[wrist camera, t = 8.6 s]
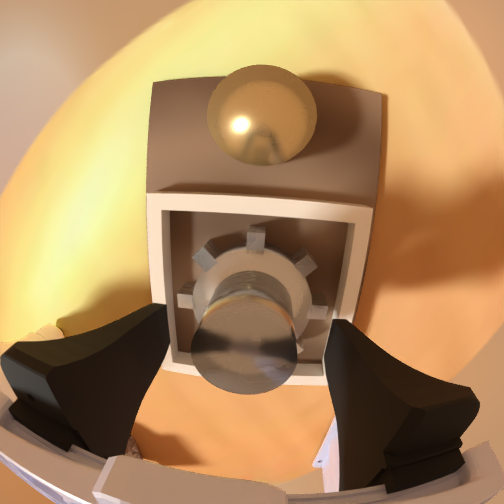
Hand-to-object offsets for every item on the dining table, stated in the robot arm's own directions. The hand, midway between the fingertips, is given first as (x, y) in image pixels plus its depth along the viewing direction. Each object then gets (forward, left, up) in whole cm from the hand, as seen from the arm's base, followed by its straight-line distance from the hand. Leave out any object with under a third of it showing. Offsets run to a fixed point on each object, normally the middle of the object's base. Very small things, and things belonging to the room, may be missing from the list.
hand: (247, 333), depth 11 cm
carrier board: (+3, 0, -4) cm, 5 cm away
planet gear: (0, 0, -4) cm, 4 cm away
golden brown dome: (+9, 0, -4) cm, 10 cm away
